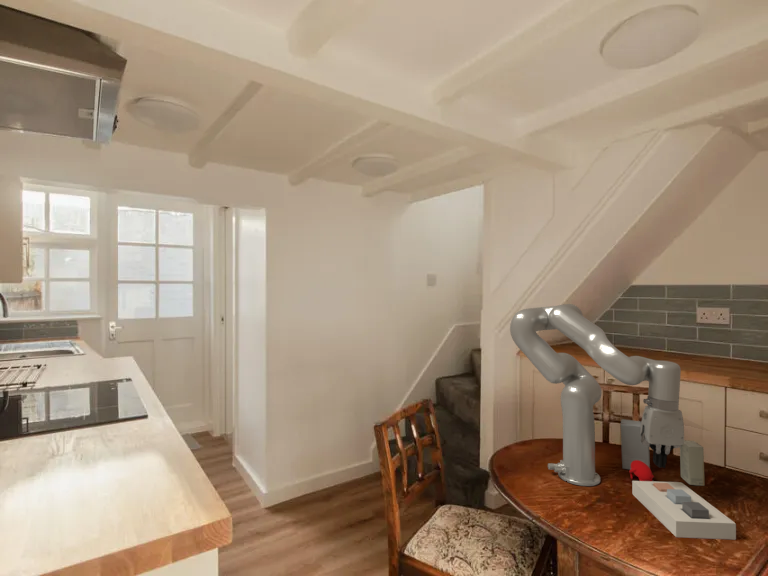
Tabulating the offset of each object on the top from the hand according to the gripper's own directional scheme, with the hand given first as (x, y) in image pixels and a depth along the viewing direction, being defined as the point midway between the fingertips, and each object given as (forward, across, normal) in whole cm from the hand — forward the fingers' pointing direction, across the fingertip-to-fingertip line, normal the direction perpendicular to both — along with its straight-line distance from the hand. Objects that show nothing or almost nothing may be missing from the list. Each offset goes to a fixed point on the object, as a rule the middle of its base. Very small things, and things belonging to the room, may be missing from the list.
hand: (659, 465), depth 124 cm
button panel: (+10, +1, -8) cm, 13 cm away
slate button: (+7, +1, -8) cm, 11 cm away
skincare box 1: (+11, +4, +22) cm, 25 cm away
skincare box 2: (+10, +17, +13) cm, 24 cm away
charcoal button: (+7, +1, -15) cm, 16 cm away
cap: (+11, +1, +12) cm, 16 cm away
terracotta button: (+9, +1, -1) cm, 9 cm away
